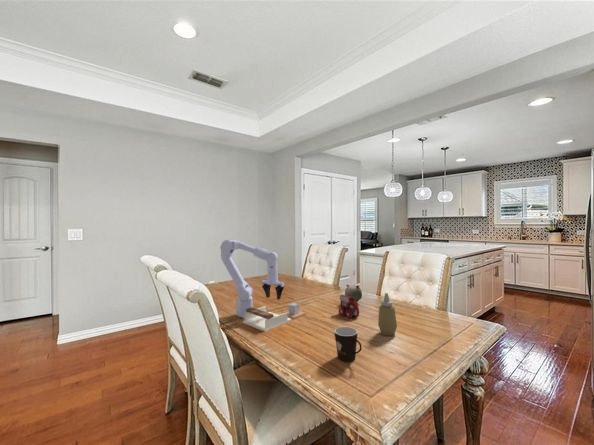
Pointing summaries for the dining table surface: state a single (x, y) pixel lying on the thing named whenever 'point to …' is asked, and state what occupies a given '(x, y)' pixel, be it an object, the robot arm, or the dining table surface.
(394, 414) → the dining table surface
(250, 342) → the dining table surface
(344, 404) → the dining table surface
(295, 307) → the slate block
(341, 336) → the coffee mug
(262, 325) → the puzzle board
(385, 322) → the squeeze bottle
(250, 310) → the sliding bar
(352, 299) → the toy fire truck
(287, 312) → the salmon pink tile
